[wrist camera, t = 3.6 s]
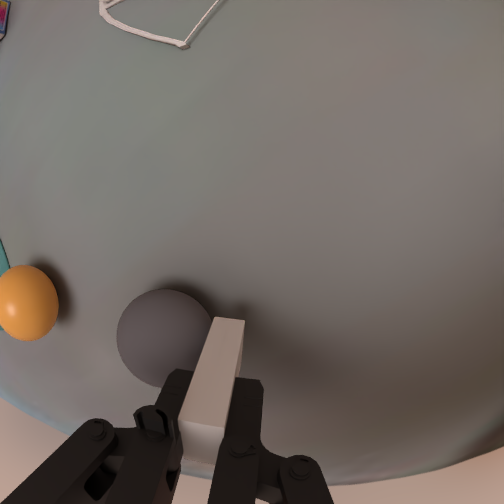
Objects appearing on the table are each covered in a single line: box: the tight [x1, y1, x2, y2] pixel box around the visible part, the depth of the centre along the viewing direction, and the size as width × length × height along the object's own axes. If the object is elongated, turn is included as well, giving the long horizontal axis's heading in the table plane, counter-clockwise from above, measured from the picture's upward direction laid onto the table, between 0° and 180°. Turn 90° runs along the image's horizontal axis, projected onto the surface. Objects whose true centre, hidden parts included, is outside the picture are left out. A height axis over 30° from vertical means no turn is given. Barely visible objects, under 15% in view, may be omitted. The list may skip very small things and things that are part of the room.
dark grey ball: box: [117, 289, 212, 388], centre depth 15 cm, size 6×6×6 cm
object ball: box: [0, 265, 59, 341], centre depth 16 cm, size 6×6×6 cm
